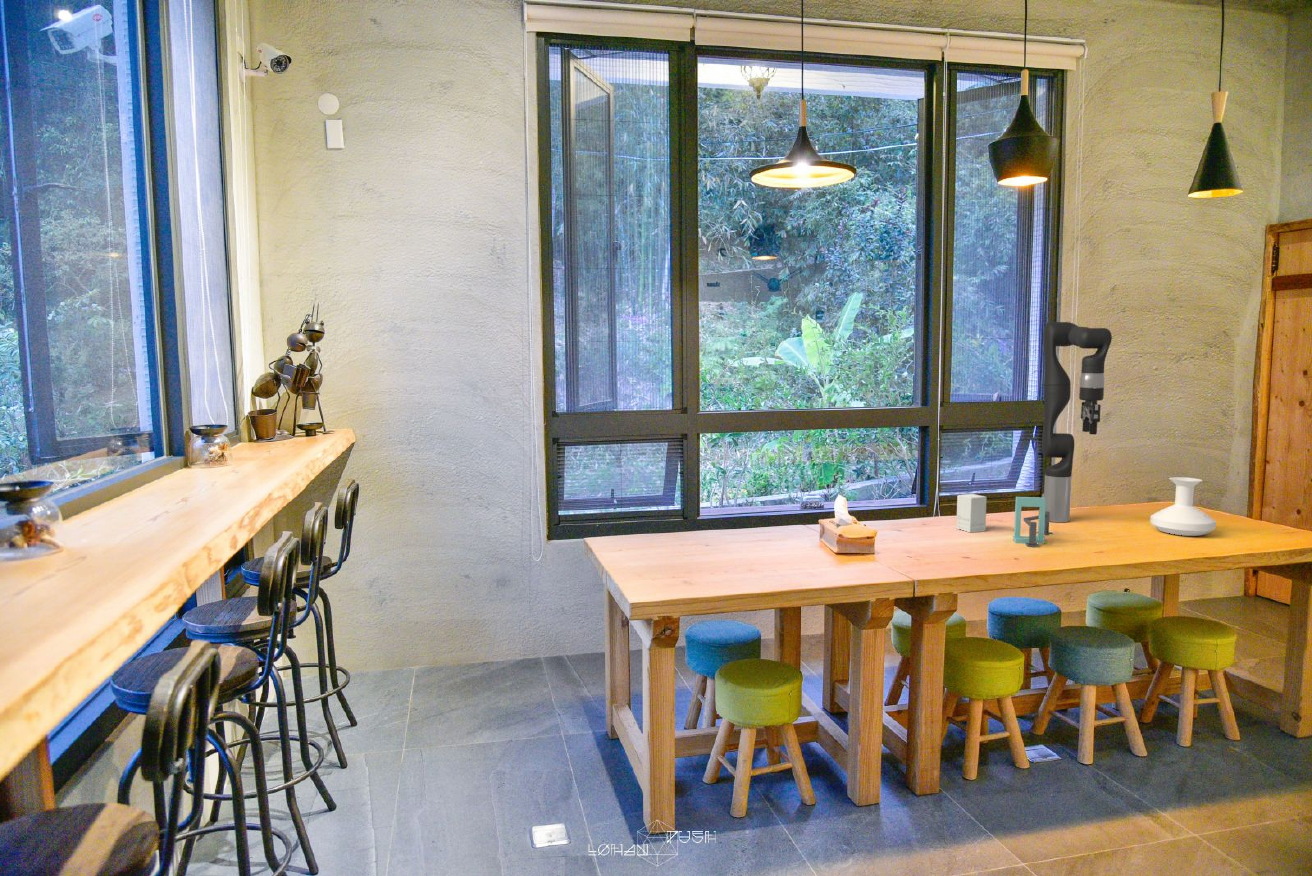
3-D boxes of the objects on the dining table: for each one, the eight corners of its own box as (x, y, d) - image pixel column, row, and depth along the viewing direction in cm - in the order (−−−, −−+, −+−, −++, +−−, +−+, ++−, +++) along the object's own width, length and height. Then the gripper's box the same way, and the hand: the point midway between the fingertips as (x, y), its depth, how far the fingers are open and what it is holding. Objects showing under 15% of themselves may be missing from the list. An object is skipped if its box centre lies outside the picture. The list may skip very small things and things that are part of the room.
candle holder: (1136, 528, 320) (1139, 476, 318) (1181, 525, 325) (1184, 474, 323) (1182, 540, 301) (1186, 485, 299) (1229, 537, 306) (1233, 482, 304)
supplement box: (986, 531, 316) (987, 496, 314) (969, 533, 313) (971, 498, 312) (971, 527, 323) (973, 493, 321) (955, 529, 320) (956, 494, 319)
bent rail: (1014, 545, 294) (1015, 521, 293) (1030, 531, 316) (1031, 509, 315) (1038, 548, 290) (1039, 524, 289) (1053, 533, 312) (1054, 511, 311)
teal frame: (1013, 540, 301) (1015, 496, 300) (1041, 541, 300) (1043, 496, 298) (1015, 543, 297) (1017, 498, 296) (1044, 544, 296) (1046, 499, 294)
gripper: (1074, 385, 311) (1072, 430, 313) (1085, 387, 297) (1083, 435, 299) (1097, 385, 310) (1095, 431, 311) (1109, 387, 296) (1107, 435, 298)
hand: (1089, 433), depth 305 cm, fingers open, 8 cm apart
